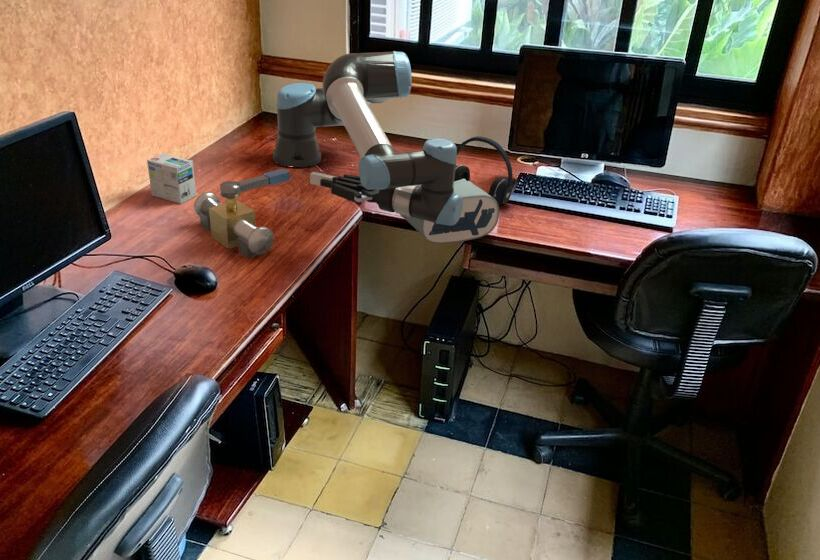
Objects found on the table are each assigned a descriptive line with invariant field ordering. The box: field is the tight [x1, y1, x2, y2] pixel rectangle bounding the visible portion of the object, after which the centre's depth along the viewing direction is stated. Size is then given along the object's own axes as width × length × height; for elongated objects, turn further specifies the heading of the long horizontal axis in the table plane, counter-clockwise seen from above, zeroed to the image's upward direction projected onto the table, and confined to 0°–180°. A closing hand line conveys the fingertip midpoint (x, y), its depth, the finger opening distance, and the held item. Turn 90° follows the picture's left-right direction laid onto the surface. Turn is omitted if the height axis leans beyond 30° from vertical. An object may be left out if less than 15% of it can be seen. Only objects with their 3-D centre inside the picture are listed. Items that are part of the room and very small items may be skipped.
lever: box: [219, 168, 291, 199], centre depth 183 cm, size 19×5×2 cm, turn 134°
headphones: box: [454, 136, 514, 206], centre depth 213 cm, size 20×7×18 cm, turn 55°
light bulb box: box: [146, 152, 197, 205], centre depth 202 cm, size 11×7×11 cm, turn 65°
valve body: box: [193, 191, 275, 259], centre depth 183 cm, size 26×8×12 cm, turn 44°
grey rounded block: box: [399, 179, 500, 245], centre depth 195 cm, size 22×19×13 cm
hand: (311, 177), depth 182 cm, fingers closed
